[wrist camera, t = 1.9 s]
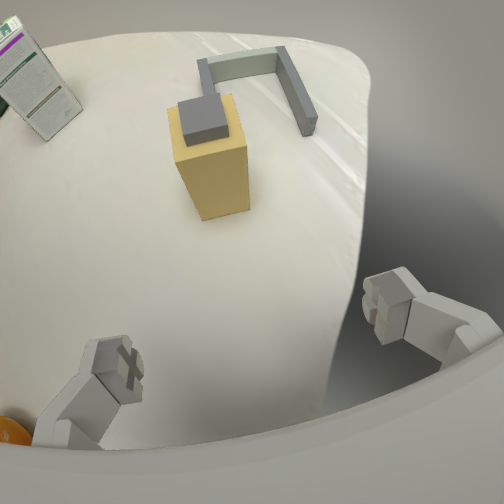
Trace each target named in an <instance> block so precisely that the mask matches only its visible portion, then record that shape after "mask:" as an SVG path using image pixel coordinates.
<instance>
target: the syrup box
mask: <svg viewBox="0 0 504 504" xmlns="http://www.w3.org/2000/svg"><path fill="white" fill-rule="evenodd" d="M0 96H1V97H2V98H3V99H4V100H5V101H6V102H7V103H8V104H9V105H10V106H11V107H12V108H13V109H14V110H15V111H16V112H17V113H18V114H19V115H20V116H21V117H22V118H23V119H24V120H25V121H26V122H27V123H28V124H29V125H30V126H31V127H32V128H33V129H34V130H35V131H36V132H37V133H38V134H39V135H40V136H41V137H42V138H43V139H44V140H46V141H47V140H49V139H50V138H51V137H52V136H54V135H55V134H56V133H57V132H58V131H59V130H60V129H62V128H63V127H64V126H65V125H66V124H67V123H68V122H69V121H71V120H72V119H73V118H74V117H75V116H76V115H77V114H79V113H80V112H81V111H82V110H83V109H82V107H81V105H80V104H79V102H78V101H77V99H76V98H75V96H74V95H73V94H72V92H71V91H70V89H69V88H68V87H67V85H66V84H65V82H64V81H63V79H62V78H61V77H60V75H59V74H58V72H57V71H56V69H55V68H54V66H53V65H52V63H51V62H50V61H49V59H48V58H47V56H46V55H45V54H44V52H43V51H42V49H41V48H40V47H39V45H38V44H37V43H36V41H35V40H34V39H33V37H32V36H31V35H30V33H29V32H28V31H27V29H26V28H25V27H24V25H23V24H22V22H21V21H20V20H19V18H18V17H17V15H15V14H14V15H12V16H11V17H9V18H8V19H6V20H5V21H4V22H3V23H1V24H0Z"/></svg>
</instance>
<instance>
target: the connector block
mask: <svg viewBox="0 0 504 504" xmlns="http://www.w3.org/2000/svg"><path fill="white" fill-rule="evenodd" d="M167 112H168V119H169V126H170V133H171V140H172V147H173V154H174V160H175V164H176V166H177V168H178V170H179V173H180V175H181V177H182V179H183V181H184V183H185V185H186V187H187V190H188V192H189V194H190V196H191V198H192V200H193V202H194V204H195V206H196V209H197V211H198V213H199V215H200V217H201V219H202V221H204V220H209V219H213V218H217V217H221V216H225V215H229V214H234V213H238V212H242V211H247V210H250V208H249V183H248V158H247V144H246V140H245V137H244V133H243V130H242V127H241V123H240V120H239V116H238V113H237V109H236V106H235V103H234V99H233V96H232V94H228V95H223V96H220V93H216V94H212V95H207V96H203V97H199V98H194V99H190V100H186V101H182V102H178V106H176V107H172V108H169V109H167Z"/></svg>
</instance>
